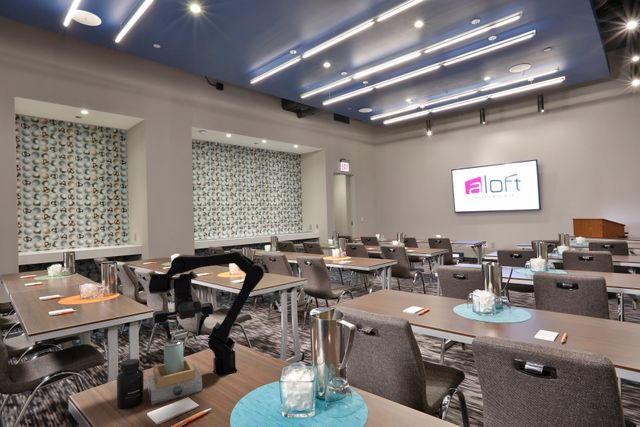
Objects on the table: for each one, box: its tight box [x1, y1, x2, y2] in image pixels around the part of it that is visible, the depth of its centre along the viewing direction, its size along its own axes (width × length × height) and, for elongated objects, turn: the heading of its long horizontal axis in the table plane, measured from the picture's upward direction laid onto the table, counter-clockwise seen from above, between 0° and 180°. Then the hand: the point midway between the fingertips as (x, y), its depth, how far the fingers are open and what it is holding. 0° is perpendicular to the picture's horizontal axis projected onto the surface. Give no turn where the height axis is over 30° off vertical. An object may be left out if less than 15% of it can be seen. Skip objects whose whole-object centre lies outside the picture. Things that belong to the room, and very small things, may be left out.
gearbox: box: [146, 358, 203, 405], centre depth 109 cm, size 14×13×6 cm
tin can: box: [163, 339, 184, 376], centre depth 109 cm, size 6×6×10 cm
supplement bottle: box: [116, 358, 145, 410], centre depth 101 cm, size 7×7×12 cm
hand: (184, 338), depth 120 cm, fingers open, 9 cm apart
